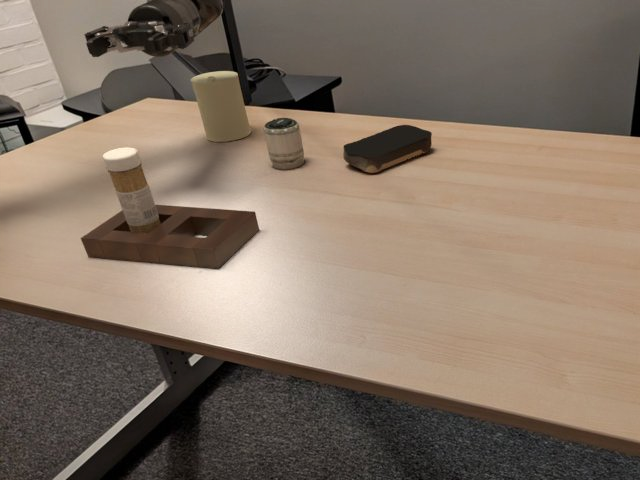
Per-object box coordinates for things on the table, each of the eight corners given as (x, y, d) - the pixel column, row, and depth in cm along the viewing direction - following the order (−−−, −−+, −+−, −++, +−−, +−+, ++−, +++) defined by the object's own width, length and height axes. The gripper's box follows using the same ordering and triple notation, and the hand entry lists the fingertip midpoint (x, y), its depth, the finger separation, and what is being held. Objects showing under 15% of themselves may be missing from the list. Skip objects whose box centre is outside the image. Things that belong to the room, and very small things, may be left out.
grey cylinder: (264, 168, 119) (255, 125, 114) (282, 156, 123) (273, 114, 119) (295, 171, 117) (286, 127, 112) (311, 159, 122) (304, 116, 117)
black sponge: (406, 141, 127) (404, 122, 125) (436, 151, 122) (435, 131, 120) (340, 166, 118) (337, 146, 116) (369, 177, 113) (367, 157, 111)
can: (202, 144, 131) (184, 82, 124) (210, 129, 139) (195, 70, 132) (248, 140, 132) (233, 78, 125) (254, 125, 139) (241, 66, 132)
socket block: (88, 257, 93) (80, 238, 92) (139, 220, 103) (132, 202, 101) (218, 269, 89) (213, 249, 87) (259, 229, 98) (255, 211, 96)
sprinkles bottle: (156, 230, 99) (127, 143, 92) (172, 238, 97) (143, 150, 89) (128, 241, 97) (95, 153, 89) (143, 250, 94) (111, 160, 86)
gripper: (109, 2, 102) (61, 21, 89) (200, -2, 102) (165, 16, 89) (125, 53, 107) (81, 78, 93) (212, 49, 107) (180, 74, 93)
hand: (122, 48), depth 91 cm, fingers open, 8 cm apart
